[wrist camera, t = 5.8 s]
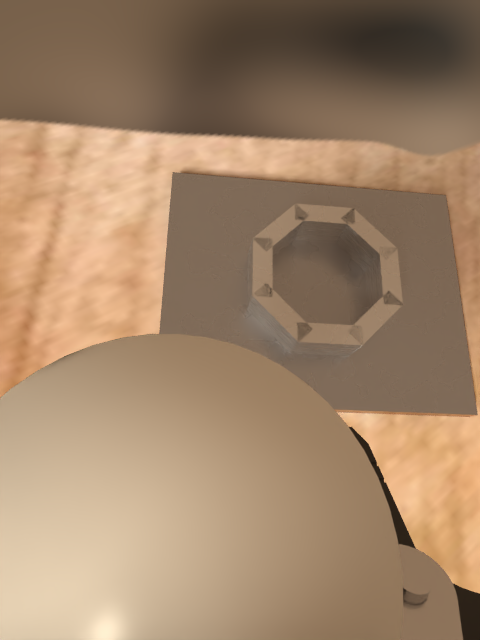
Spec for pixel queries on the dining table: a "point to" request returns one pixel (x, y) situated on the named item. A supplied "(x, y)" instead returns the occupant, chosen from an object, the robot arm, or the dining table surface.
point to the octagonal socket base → (324, 288)
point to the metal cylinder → (188, 502)
